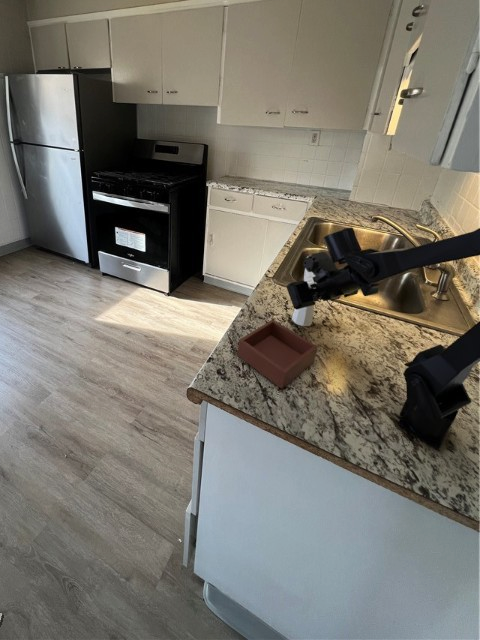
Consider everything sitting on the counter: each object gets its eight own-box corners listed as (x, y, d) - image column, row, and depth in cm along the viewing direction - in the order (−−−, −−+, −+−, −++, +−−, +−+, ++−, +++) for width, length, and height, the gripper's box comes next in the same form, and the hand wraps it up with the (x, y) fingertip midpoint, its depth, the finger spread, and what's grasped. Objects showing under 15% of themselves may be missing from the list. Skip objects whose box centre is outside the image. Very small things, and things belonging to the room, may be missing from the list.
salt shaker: (300, 312, 89) (307, 278, 84) (316, 322, 85) (324, 287, 80) (287, 318, 86) (293, 283, 81) (303, 329, 82) (311, 293, 77)
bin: (314, 361, 73) (318, 346, 71) (281, 389, 65) (285, 372, 63) (270, 333, 81) (272, 319, 79) (237, 355, 74) (238, 339, 72)
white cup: (299, 280, 107) (304, 253, 103) (323, 282, 106) (329, 256, 102) (303, 292, 100) (309, 264, 96) (328, 294, 99) (336, 267, 95)
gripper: (360, 242, 76) (318, 264, 89) (298, 253, 69) (263, 275, 83) (380, 286, 72) (333, 301, 86) (317, 301, 66) (277, 316, 80)
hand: (302, 297), depth 84 cm, fingers closed on salt shaker, 4 cm apart
